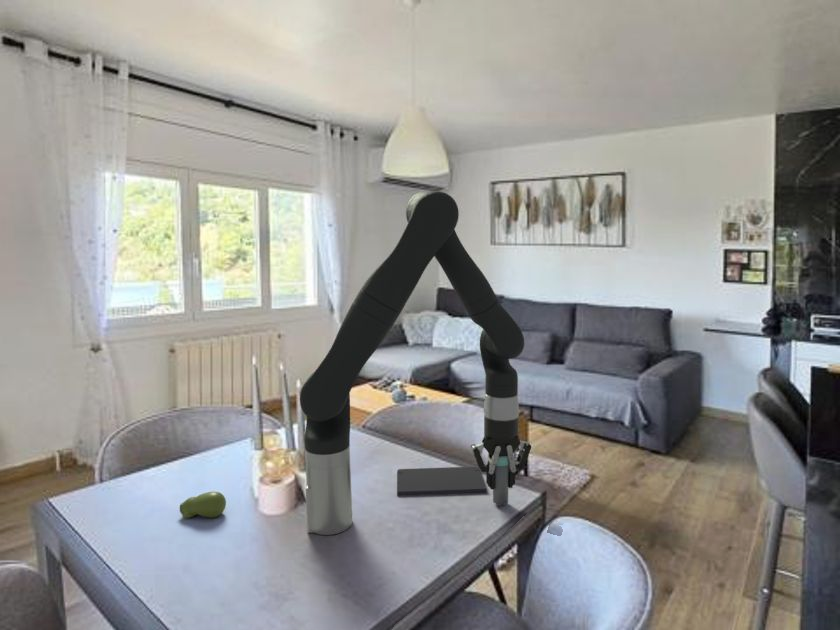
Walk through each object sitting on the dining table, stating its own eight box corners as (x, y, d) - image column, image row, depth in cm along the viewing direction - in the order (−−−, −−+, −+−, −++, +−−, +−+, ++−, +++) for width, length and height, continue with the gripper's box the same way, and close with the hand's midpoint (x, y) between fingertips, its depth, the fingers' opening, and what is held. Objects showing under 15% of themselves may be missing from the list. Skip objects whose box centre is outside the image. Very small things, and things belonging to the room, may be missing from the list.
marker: (495, 505, 117) (495, 458, 115) (490, 497, 120) (490, 451, 119) (510, 504, 117) (511, 457, 116) (505, 496, 121) (506, 450, 119)
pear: (215, 497, 112) (172, 503, 113) (221, 520, 113) (178, 526, 114) (227, 485, 118) (185, 491, 119) (232, 507, 118) (191, 513, 120)
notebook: (397, 498, 124) (486, 494, 124) (396, 491, 123) (486, 488, 124) (397, 474, 136) (478, 472, 137) (397, 468, 136) (478, 466, 137)
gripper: (474, 421, 111) (474, 497, 114) (538, 417, 113) (536, 492, 116) (466, 410, 119) (466, 482, 121) (526, 406, 121) (525, 477, 123)
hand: (500, 486), depth 118 cm, fingers open, 3 cm apart
